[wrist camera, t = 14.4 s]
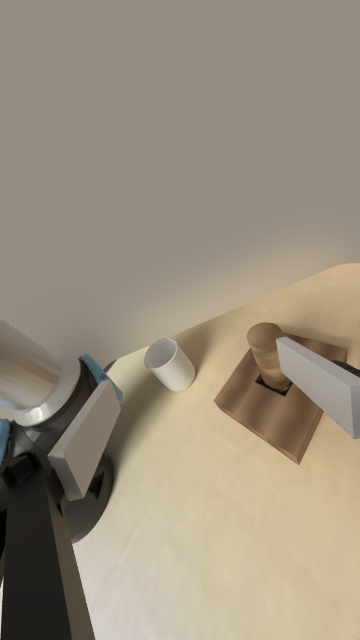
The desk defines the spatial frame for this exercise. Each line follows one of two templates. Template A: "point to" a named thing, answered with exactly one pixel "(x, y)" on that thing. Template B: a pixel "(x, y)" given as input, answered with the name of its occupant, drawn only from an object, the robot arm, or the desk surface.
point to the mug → (170, 364)
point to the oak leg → (268, 356)
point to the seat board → (275, 403)
